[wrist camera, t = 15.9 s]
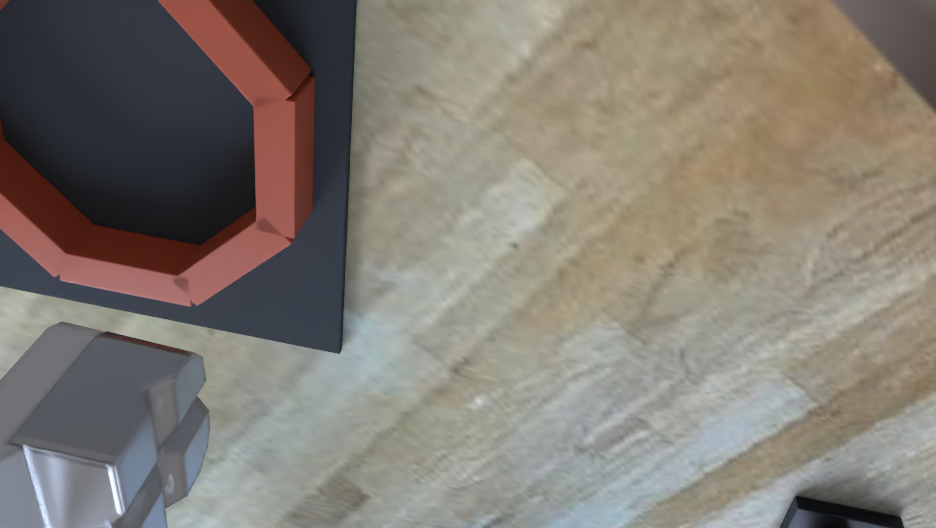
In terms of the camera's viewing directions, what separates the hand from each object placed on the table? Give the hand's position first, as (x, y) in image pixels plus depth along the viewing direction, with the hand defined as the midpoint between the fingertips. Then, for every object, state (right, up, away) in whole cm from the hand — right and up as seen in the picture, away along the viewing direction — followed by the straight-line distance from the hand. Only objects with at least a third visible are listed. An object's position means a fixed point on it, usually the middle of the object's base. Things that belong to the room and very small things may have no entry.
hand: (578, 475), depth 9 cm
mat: (-15, +9, +27) cm, 32 cm away
